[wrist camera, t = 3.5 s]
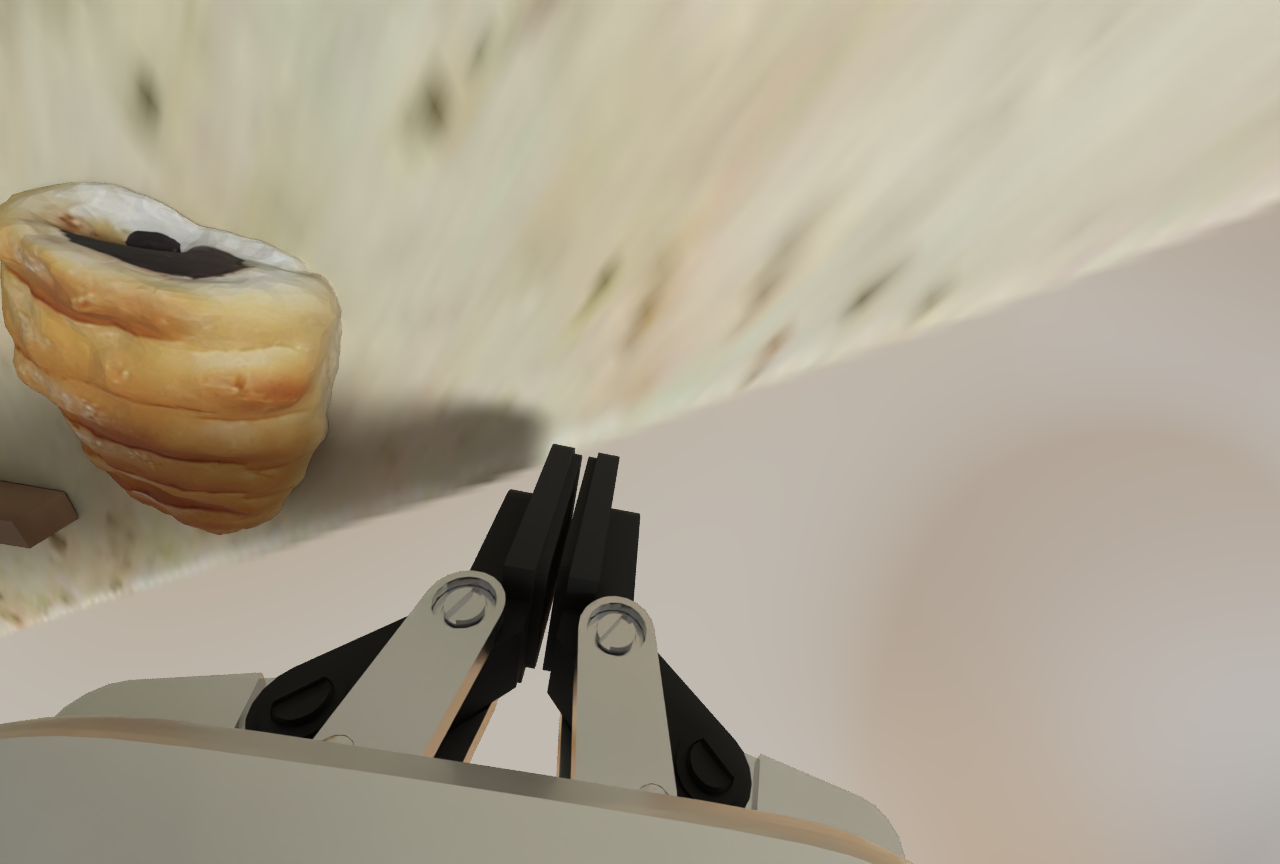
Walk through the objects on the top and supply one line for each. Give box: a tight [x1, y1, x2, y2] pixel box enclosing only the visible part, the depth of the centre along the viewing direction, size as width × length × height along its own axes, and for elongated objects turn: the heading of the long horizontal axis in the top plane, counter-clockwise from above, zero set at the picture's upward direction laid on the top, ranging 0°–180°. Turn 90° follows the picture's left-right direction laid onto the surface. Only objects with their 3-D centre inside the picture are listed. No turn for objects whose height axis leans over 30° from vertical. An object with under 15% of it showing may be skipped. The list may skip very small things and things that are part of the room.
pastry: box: [0, 183, 342, 535], centre depth 12 cm, size 9×7×4 cm
